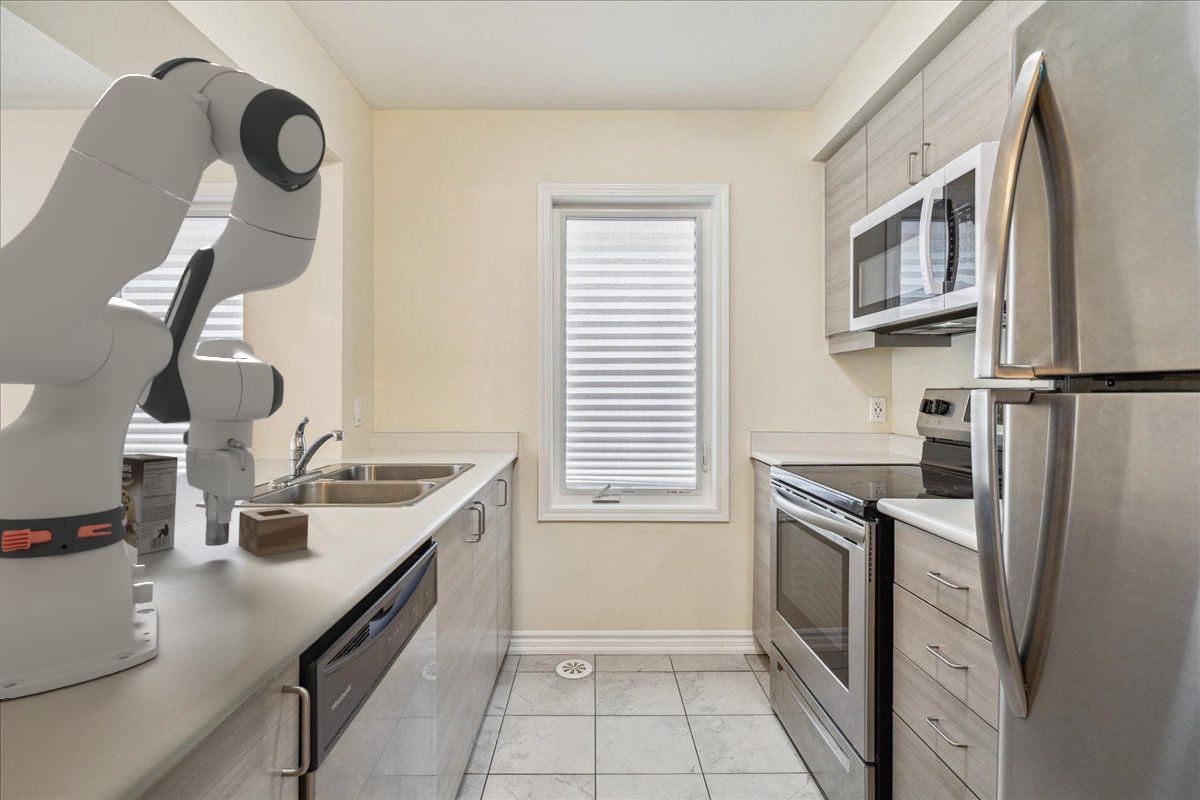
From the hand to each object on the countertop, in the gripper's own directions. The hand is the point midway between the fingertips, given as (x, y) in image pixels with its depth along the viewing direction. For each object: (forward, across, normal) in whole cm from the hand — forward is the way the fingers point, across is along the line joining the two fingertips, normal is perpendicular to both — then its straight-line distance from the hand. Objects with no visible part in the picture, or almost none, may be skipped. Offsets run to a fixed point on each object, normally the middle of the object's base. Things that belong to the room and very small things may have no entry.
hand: (217, 520), depth 96 cm
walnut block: (+6, +1, -9) cm, 11 cm away
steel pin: (+4, 0, 0) cm, 4 cm away
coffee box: (+7, +15, +7) cm, 18 cm away
